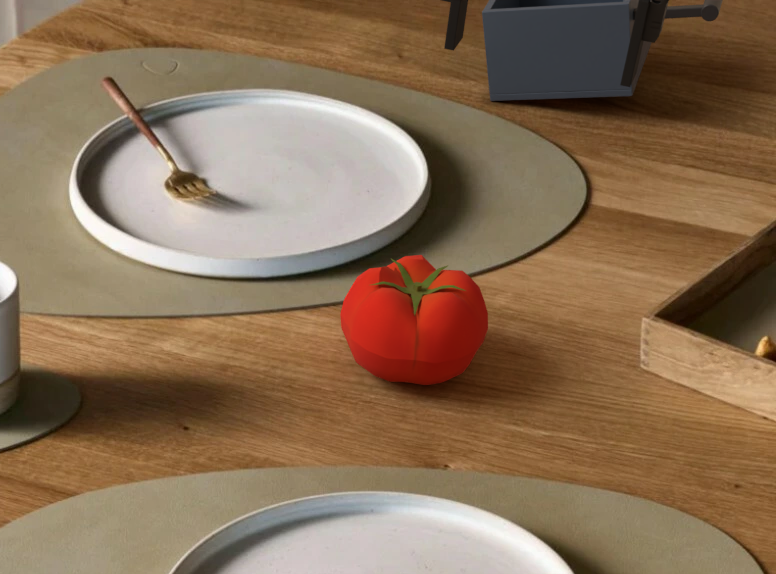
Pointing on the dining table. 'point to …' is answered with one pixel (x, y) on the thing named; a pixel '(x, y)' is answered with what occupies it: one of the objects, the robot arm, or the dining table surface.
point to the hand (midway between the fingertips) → (539, 61)
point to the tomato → (414, 321)
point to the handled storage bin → (566, 46)
